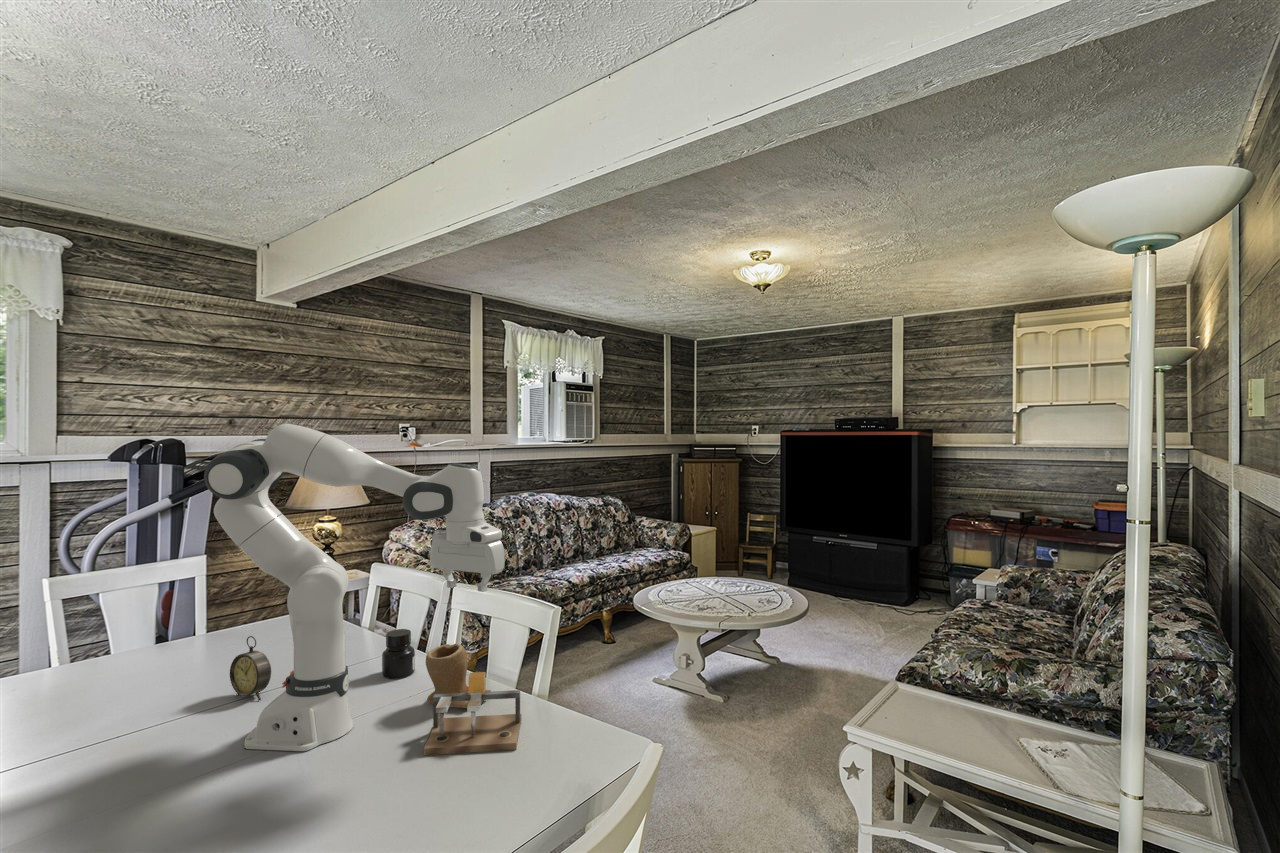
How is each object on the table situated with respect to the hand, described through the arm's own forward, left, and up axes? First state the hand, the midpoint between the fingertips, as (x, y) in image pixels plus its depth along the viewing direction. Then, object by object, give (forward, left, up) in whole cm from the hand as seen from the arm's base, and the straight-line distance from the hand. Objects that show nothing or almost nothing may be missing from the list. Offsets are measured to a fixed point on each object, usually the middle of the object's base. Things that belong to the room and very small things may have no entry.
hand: (466, 589), depth 147 cm
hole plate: (+2, -4, -33) cm, 34 cm away
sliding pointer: (+2, -4, -31) cm, 32 cm away
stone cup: (-6, +14, -34) cm, 37 cm away
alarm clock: (-61, +25, -34) cm, 74 cm away
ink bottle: (-26, +36, -34) cm, 56 cm away
